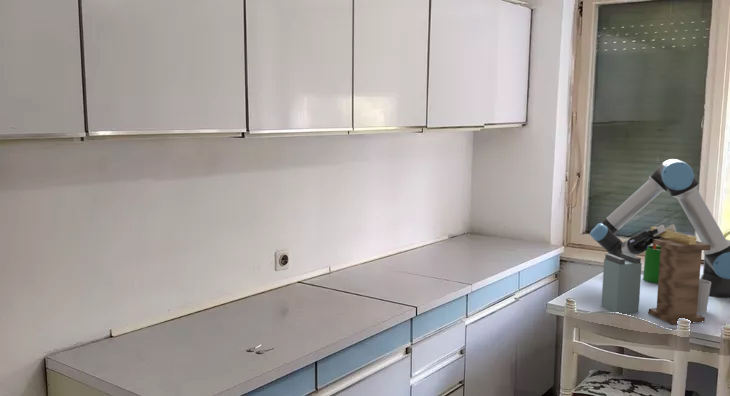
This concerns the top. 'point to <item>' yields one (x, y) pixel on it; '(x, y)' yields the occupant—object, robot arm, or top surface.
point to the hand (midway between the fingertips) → (669, 227)
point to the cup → (703, 295)
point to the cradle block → (621, 283)
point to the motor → (652, 264)
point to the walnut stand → (678, 281)
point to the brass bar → (677, 237)
